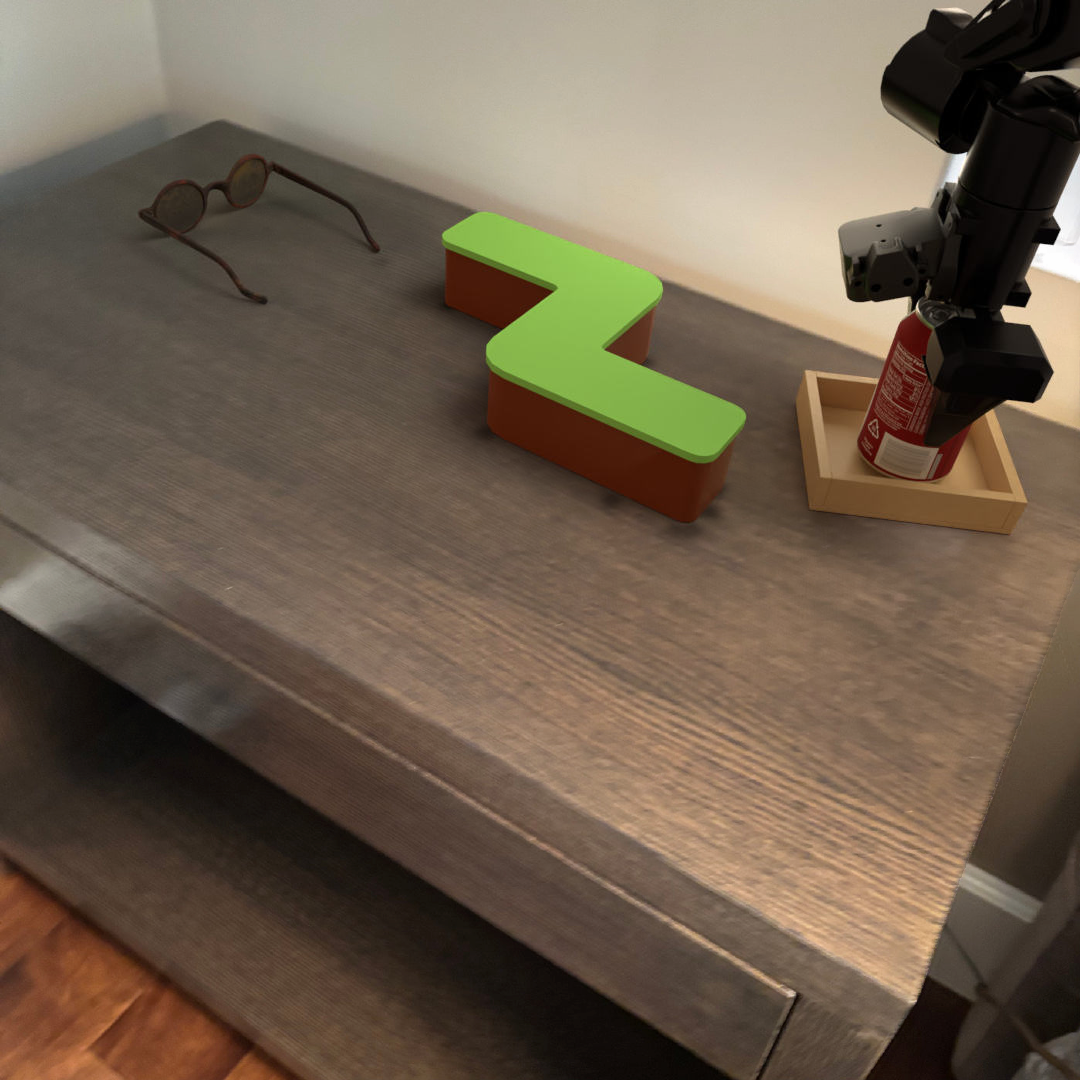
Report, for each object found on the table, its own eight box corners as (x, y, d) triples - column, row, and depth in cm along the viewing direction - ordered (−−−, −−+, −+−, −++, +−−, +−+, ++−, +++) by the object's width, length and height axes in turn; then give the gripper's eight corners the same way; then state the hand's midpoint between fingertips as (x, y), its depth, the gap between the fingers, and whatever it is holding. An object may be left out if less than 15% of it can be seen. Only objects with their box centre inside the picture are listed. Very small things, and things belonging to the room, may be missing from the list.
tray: (973, 422, 78) (987, 391, 76) (1010, 534, 69) (1028, 502, 67) (795, 401, 78) (804, 369, 76) (809, 509, 69) (820, 477, 67)
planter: (340, 365, 77) (335, 296, 73) (480, 272, 89) (482, 208, 85) (692, 531, 67) (709, 461, 63) (799, 401, 78) (819, 335, 74)
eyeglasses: (276, 193, 97) (270, 140, 94) (388, 248, 91) (386, 195, 87) (144, 245, 88) (132, 189, 85) (258, 310, 82) (250, 253, 79)
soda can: (927, 504, 70) (994, 356, 62) (838, 462, 73) (890, 315, 64) (963, 458, 74) (1029, 313, 66) (876, 419, 77) (930, 276, 68)
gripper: (851, 111, 66) (792, 320, 77) (892, 248, 53) (814, 478, 64) (1023, 131, 66) (940, 338, 77) (1109, 273, 53) (994, 501, 63)
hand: (920, 406), depth 70 cm, fingers open, 8 cm apart
